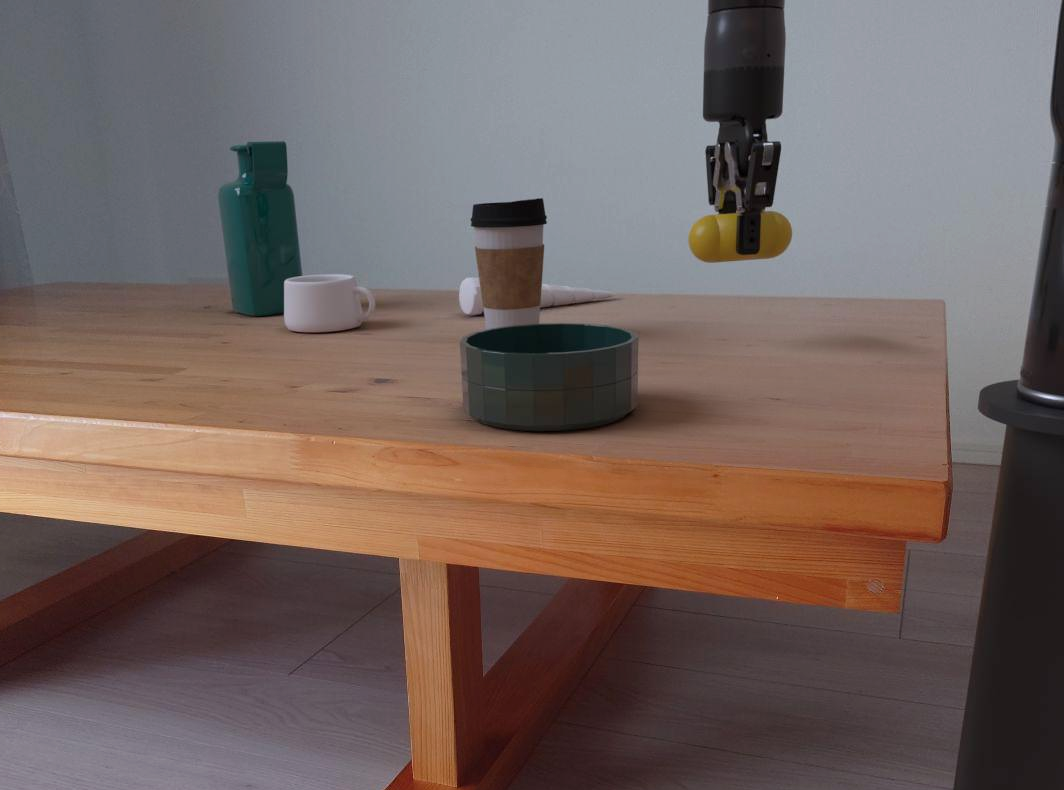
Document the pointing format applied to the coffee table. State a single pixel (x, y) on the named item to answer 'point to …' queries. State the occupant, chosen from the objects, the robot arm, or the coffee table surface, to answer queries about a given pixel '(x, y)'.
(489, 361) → the teal round dish
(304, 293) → the mug
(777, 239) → the capsule
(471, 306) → the unicorn horn
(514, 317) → the coffee cup
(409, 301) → the coffee table surface
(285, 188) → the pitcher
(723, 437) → the coffee table surface
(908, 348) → the coffee table surface
